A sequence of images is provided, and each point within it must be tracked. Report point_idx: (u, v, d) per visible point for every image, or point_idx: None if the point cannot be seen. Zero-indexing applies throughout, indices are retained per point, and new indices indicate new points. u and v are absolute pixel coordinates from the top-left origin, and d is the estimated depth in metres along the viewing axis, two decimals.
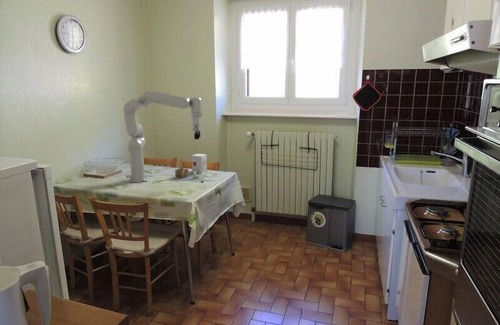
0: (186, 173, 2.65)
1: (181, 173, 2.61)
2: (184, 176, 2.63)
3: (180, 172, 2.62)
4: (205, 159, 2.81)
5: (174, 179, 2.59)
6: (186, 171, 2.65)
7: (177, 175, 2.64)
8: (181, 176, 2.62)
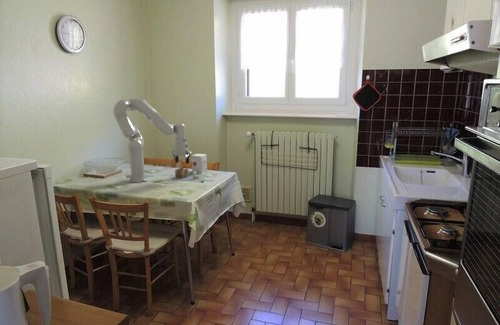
0: (186, 173, 2.65)
1: (181, 173, 2.61)
2: (184, 176, 2.63)
3: (180, 172, 2.62)
4: (205, 159, 2.81)
5: (174, 179, 2.59)
6: (186, 171, 2.65)
7: (177, 175, 2.64)
8: (181, 176, 2.62)
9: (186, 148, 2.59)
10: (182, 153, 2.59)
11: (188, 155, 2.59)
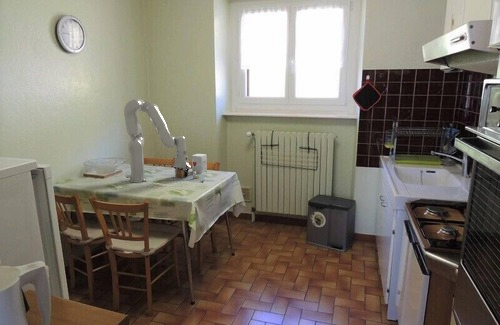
0: None
1: (181, 173, 2.61)
2: (184, 176, 2.63)
3: (180, 172, 2.62)
4: (205, 159, 2.81)
5: (174, 179, 2.59)
6: None
7: (177, 175, 2.64)
8: (181, 176, 2.62)
9: (186, 161, 2.61)
10: (182, 166, 2.61)
11: (187, 168, 2.62)
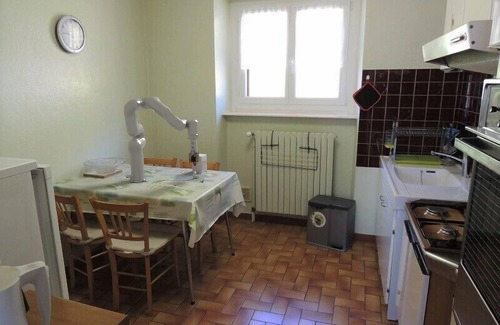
0: None
1: None
2: None
3: None
4: (205, 159, 2.81)
5: (174, 179, 2.59)
6: None
7: None
8: (189, 160, 2.57)
9: (192, 145, 2.52)
10: (190, 149, 2.55)
11: (191, 153, 2.52)
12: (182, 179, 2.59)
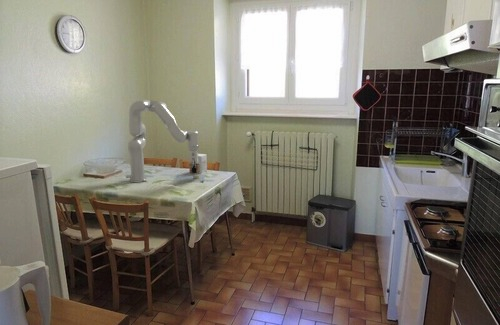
0: None
1: None
2: None
3: None
4: (205, 159, 2.81)
5: (174, 179, 2.59)
6: None
7: None
8: None
9: (193, 157, 2.53)
10: None
11: (192, 165, 2.54)
12: (182, 179, 2.59)
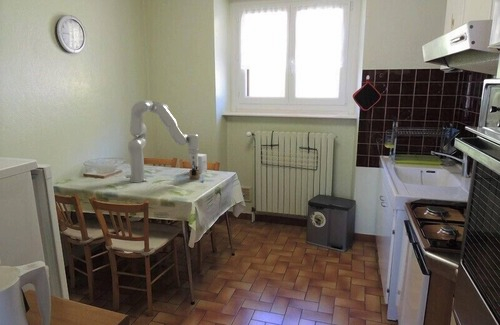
0: (195, 175, 2.58)
1: (189, 174, 2.59)
2: (191, 178, 2.58)
3: None
4: (205, 159, 2.81)
5: (174, 179, 2.59)
6: None
7: None
8: None
9: (193, 160, 2.54)
10: None
11: (192, 167, 2.53)
12: (182, 179, 2.59)
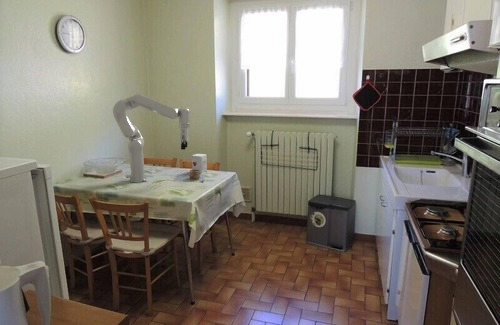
0: (195, 175, 2.58)
1: (189, 174, 2.59)
2: (191, 178, 2.58)
3: None
4: (205, 159, 2.81)
5: (174, 179, 2.59)
6: (195, 173, 2.58)
7: None
8: None
9: (182, 134, 2.54)
10: None
11: (181, 141, 2.53)
12: (182, 179, 2.59)
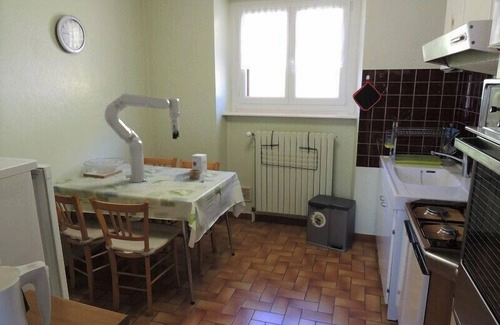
0: (195, 175, 2.58)
1: (189, 174, 2.59)
2: (191, 178, 2.58)
3: None
4: (205, 159, 2.81)
5: (174, 179, 2.59)
6: (195, 173, 2.58)
7: None
8: None
9: (173, 123, 2.57)
10: None
11: (172, 130, 2.57)
12: (182, 179, 2.59)
